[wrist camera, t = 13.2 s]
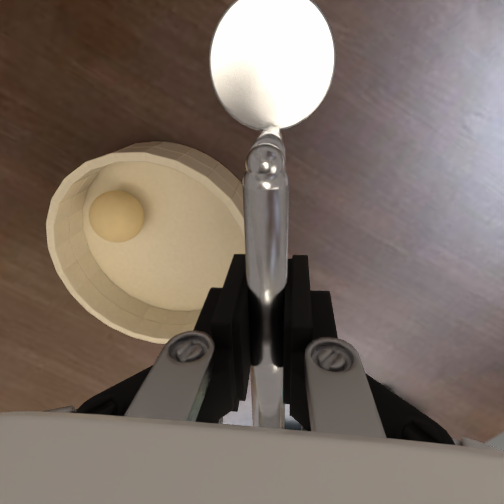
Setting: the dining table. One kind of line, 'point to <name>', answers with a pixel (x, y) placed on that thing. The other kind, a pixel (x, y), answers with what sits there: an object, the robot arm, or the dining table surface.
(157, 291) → the bowl
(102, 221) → the tan ball
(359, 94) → the dining table surface
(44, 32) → the dining table surface
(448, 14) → the dining table surface
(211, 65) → the ladle
